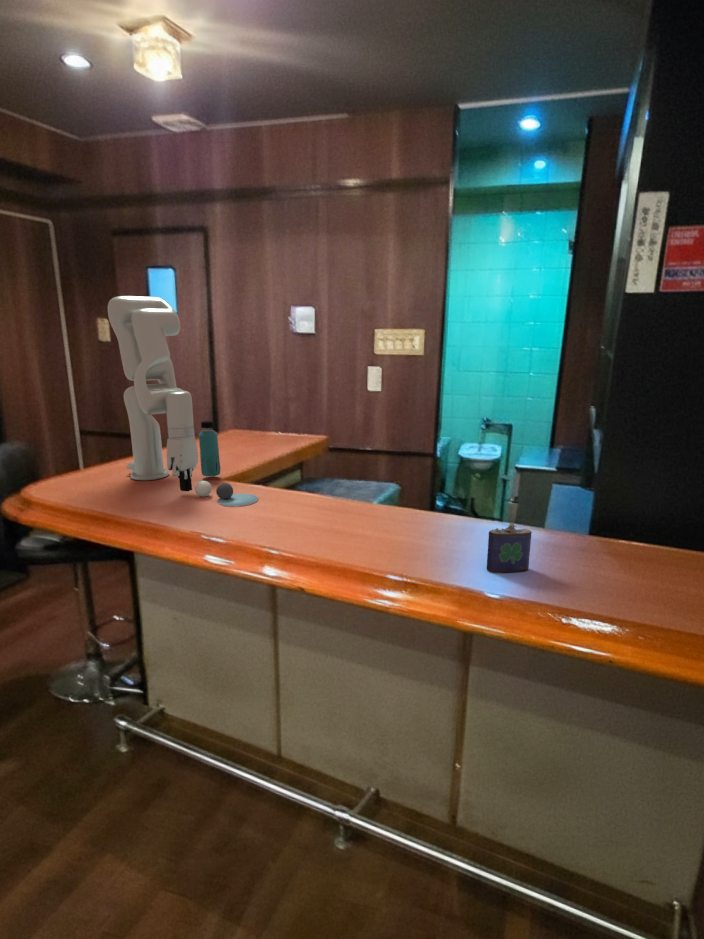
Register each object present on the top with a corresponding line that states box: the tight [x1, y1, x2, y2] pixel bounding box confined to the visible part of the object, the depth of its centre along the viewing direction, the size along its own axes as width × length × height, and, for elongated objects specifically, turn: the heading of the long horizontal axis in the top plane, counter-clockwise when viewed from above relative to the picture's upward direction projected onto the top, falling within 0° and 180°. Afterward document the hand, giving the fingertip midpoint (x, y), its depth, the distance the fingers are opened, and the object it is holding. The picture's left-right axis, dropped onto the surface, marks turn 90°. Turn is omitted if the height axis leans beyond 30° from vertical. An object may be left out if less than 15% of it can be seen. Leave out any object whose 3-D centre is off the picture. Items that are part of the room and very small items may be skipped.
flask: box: [486, 522, 532, 574], centre depth 114 cm, size 9×3×11 cm, turn 95°
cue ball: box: [194, 480, 213, 498], centre depth 164 cm, size 5×5×5 cm
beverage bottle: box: [198, 420, 221, 477], centre depth 182 cm, size 6×7×20 cm
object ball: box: [215, 482, 234, 499], centre depth 162 cm, size 5×5×5 cm
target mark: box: [217, 493, 259, 507], centre depth 161 cm, size 12×12×1 cm
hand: (186, 490), depth 166 cm, fingers closed
